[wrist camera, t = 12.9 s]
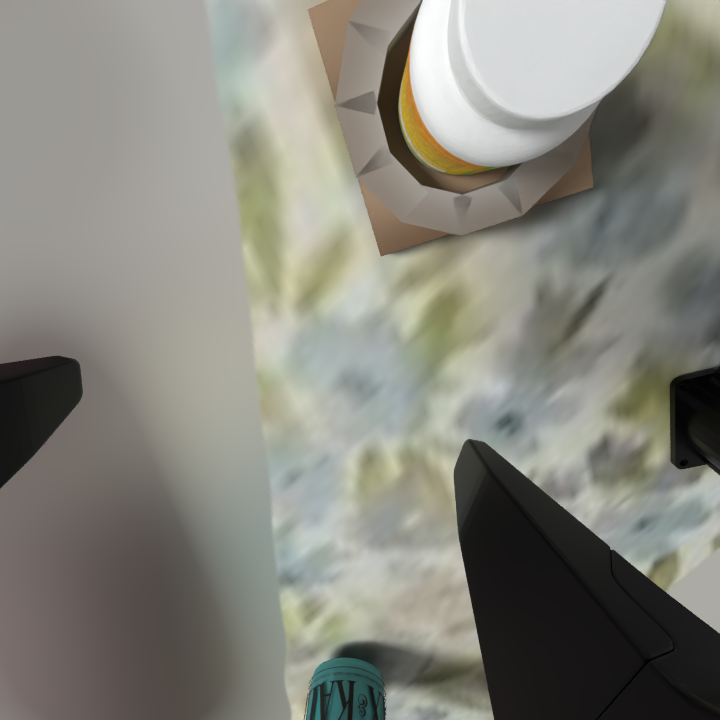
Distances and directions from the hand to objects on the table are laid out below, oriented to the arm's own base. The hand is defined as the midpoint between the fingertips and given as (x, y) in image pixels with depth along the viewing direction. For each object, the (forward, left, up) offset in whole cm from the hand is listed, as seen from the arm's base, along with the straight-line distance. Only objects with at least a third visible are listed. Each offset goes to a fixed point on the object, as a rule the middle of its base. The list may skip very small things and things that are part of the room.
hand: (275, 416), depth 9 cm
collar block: (+6, -8, -13) cm, 16 cm away
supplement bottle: (+6, -8, -12) cm, 16 cm away
